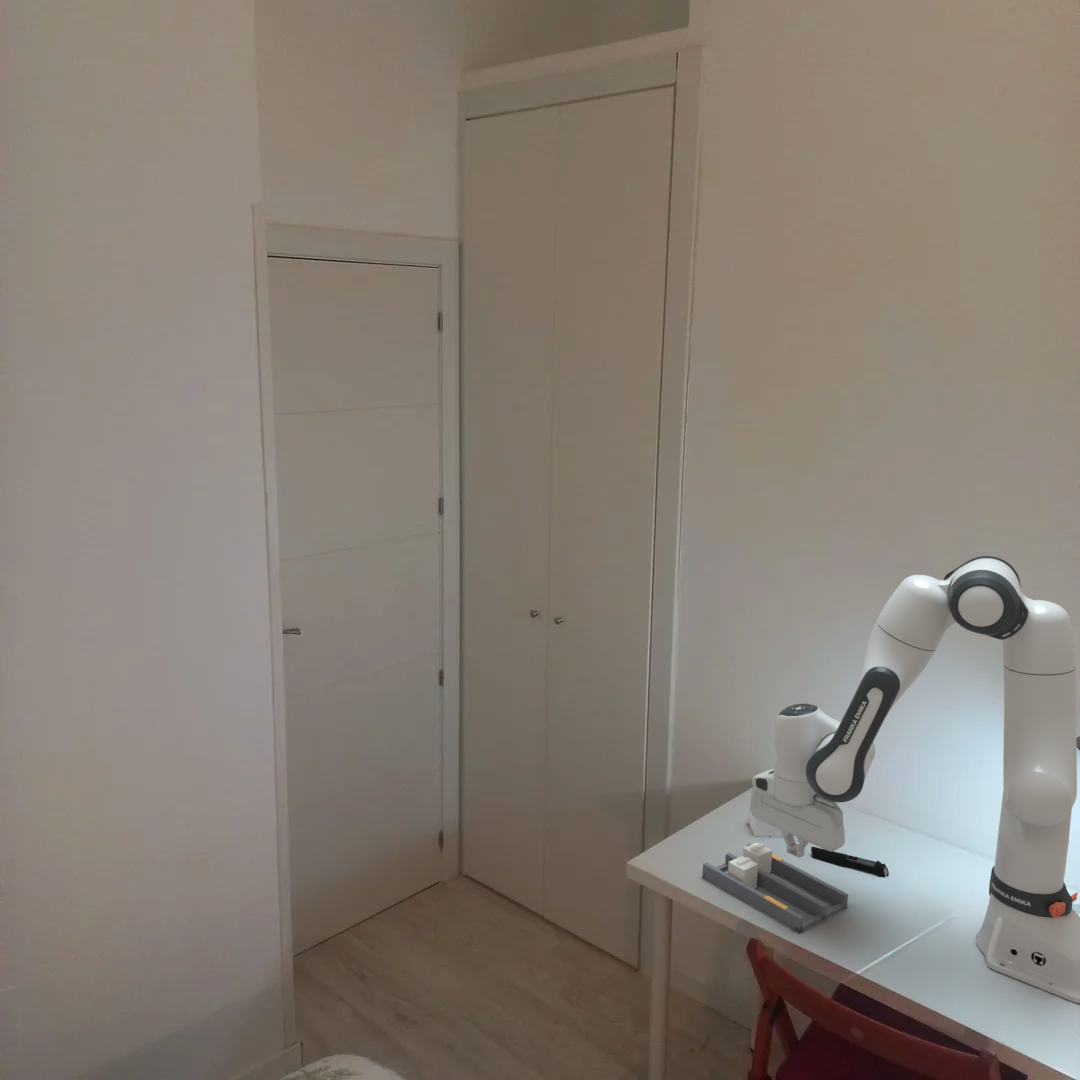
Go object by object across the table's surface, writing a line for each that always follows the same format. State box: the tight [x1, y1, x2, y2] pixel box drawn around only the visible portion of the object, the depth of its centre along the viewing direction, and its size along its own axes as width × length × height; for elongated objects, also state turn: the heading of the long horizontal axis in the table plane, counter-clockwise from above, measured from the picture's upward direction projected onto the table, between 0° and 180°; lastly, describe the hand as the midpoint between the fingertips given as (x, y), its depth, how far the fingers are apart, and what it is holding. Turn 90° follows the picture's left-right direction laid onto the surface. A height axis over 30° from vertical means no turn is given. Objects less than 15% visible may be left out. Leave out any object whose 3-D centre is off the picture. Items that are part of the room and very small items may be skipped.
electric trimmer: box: [810, 846, 890, 878], centre depth 210 cm, size 4×16×3 cm, turn 60°
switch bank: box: [702, 843, 849, 934], centre depth 199 cm, size 24×14×4 cm, turn 37°
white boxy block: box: [727, 855, 758, 890], centre depth 201 cm, size 4×4×6 cm
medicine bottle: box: [747, 793, 783, 838], centre depth 224 cm, size 7×7×12 cm
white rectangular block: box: [742, 842, 773, 875], centre depth 206 cm, size 4×4×6 cm
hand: (795, 854), depth 199 cm, fingers closed
